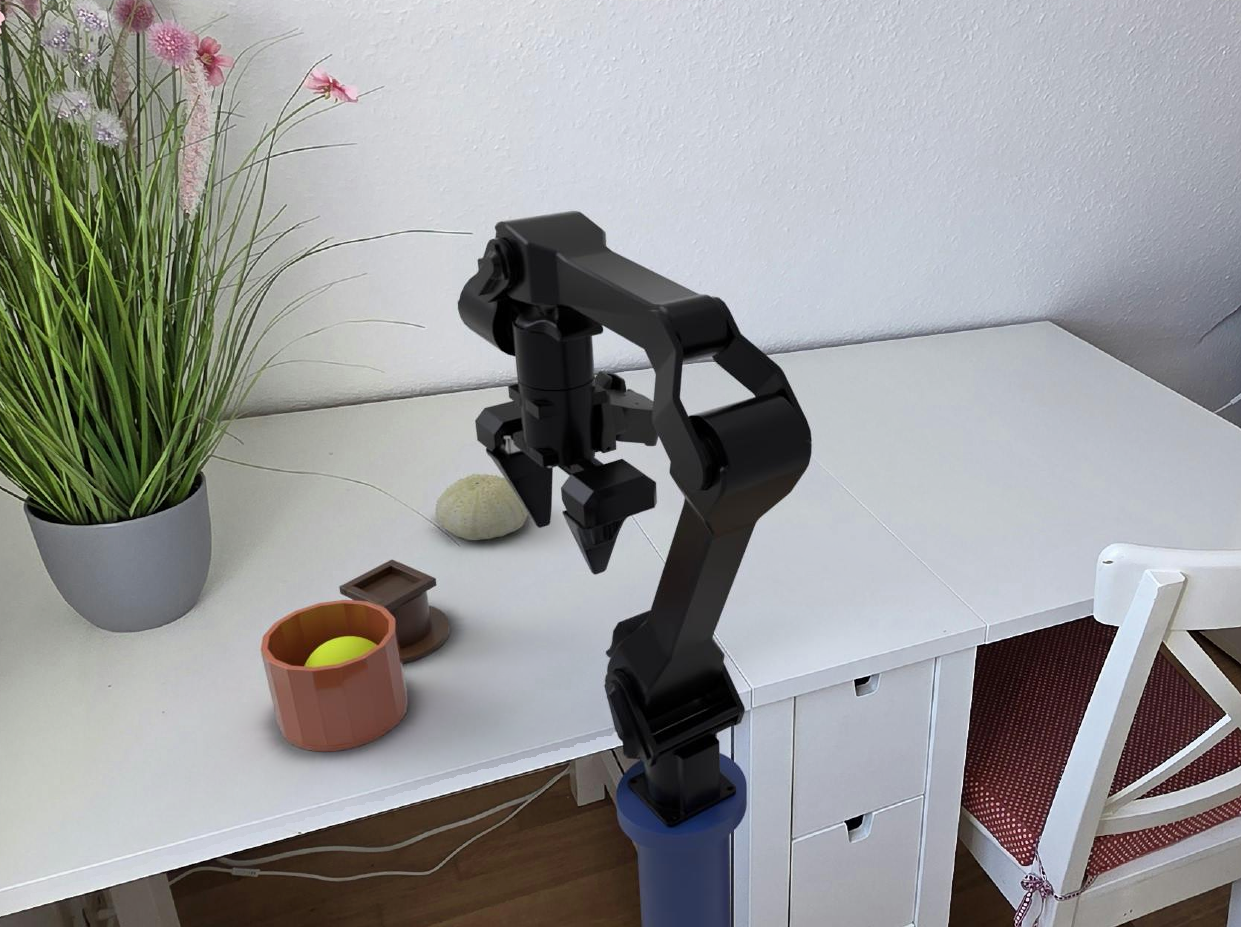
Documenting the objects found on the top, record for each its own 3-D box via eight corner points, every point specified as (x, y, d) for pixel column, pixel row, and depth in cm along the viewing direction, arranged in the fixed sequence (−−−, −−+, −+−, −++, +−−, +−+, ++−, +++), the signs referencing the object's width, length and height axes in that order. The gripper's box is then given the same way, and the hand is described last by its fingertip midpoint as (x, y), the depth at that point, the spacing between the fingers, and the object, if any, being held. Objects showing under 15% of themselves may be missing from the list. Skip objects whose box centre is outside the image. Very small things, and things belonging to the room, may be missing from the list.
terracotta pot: (427, 719, 101) (414, 640, 98) (305, 768, 95) (286, 686, 91) (380, 663, 107) (367, 587, 103) (262, 707, 101) (243, 627, 97)
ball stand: (471, 628, 113) (464, 575, 110) (390, 678, 106) (380, 622, 103) (402, 597, 116) (394, 545, 113) (319, 643, 109) (308, 589, 106)
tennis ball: (297, 634, 96) (370, 673, 95) (351, 613, 102) (419, 649, 102) (271, 706, 97) (343, 744, 96) (326, 681, 103) (393, 716, 103)
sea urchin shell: (455, 542, 122) (431, 468, 123) (444, 564, 128) (422, 494, 129) (545, 520, 127) (521, 449, 128) (531, 542, 133) (509, 475, 134)
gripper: (713, 393, 94) (716, 565, 101) (589, 318, 105) (599, 478, 113) (581, 429, 87) (594, 612, 94) (463, 345, 98) (483, 514, 106)
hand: (570, 548), depth 102 cm, fingers open, 9 cm apart
